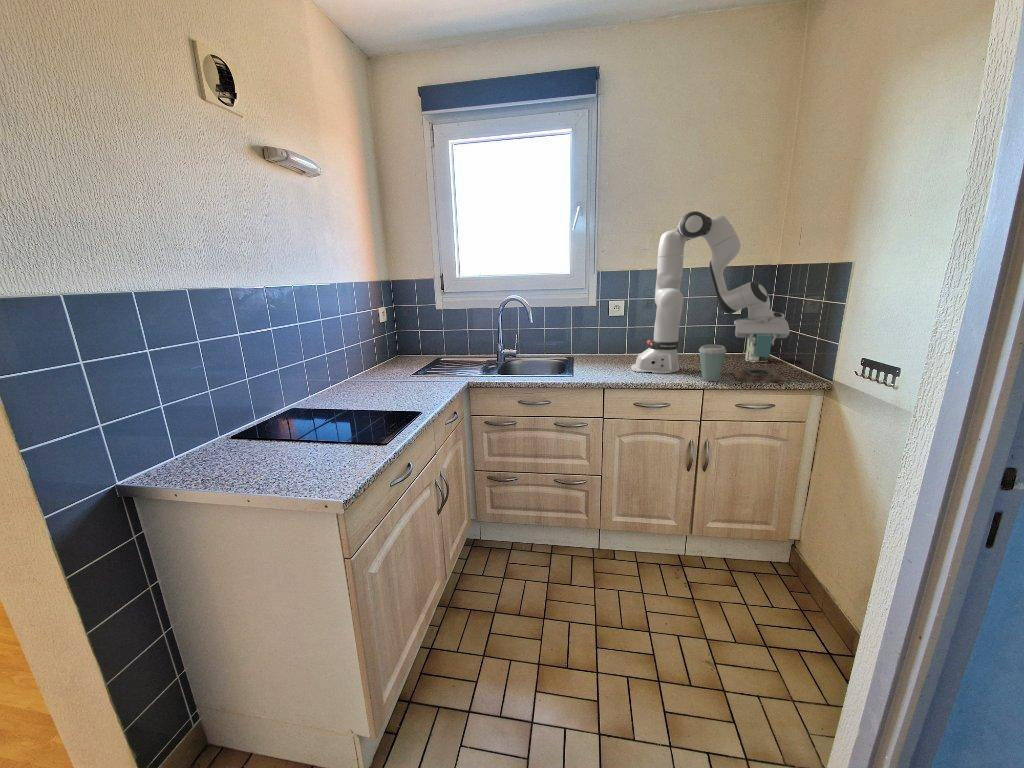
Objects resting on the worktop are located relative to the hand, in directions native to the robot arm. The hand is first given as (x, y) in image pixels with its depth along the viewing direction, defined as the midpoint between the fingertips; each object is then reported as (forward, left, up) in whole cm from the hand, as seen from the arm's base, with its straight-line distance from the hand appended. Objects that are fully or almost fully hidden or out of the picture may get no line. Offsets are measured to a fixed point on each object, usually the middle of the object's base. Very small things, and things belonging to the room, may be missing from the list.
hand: (763, 344), depth 174 cm
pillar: (0, +1, -5) cm, 5 cm away
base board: (0, +1, -15) cm, 15 cm away
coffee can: (+14, +37, -15) cm, 42 cm away
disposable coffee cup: (-21, -2, -15) cm, 26 cm away
